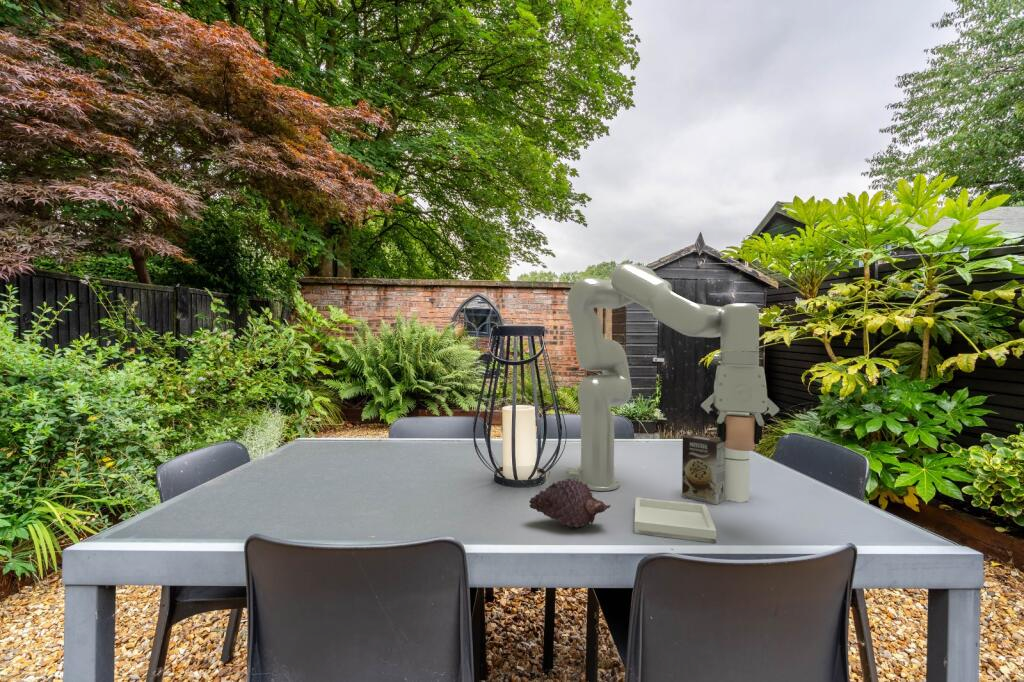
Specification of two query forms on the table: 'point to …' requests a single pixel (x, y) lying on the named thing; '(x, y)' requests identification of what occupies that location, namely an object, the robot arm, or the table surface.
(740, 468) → the cylindrical container
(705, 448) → the coffee box
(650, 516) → the tray
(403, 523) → the table surface
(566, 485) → the pine cone
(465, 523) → the table surface
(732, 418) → the cup
